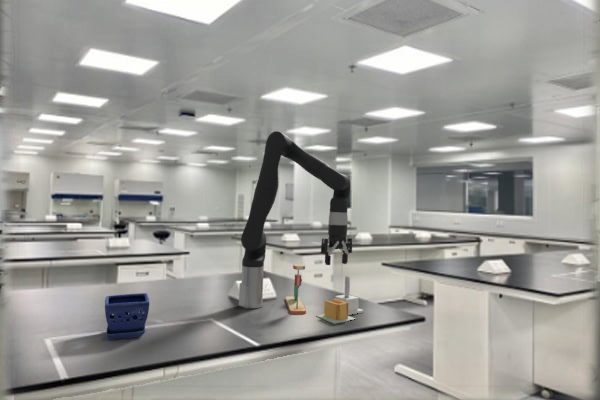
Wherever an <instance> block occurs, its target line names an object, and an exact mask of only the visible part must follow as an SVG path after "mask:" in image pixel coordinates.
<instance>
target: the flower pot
mask: <svg viewBox="0 0 600 400" xmlns="http://www.w3.org/2000/svg"><path fill="white" fill-rule="evenodd" d="M149 311H150V298H149V296H148V293H147V292H141V293H126V294H115V295H107V296H106V297H105V299H104V313H105V321H106V323H107V328H106V332H105V336H106V338H107V339H108V340H112V341H113V340H120V339H121V340H122V339H132V338H139V337H142V336H144V334H145V332H146V322H147V319H148V316H149Z"/></svg>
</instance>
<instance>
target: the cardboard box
mask: <svg viewBox="0 0 600 400" xmlns="http://www.w3.org/2000/svg"><path fill="white" fill-rule="evenodd" d="M323 311H324V312H323V314H324V316H327V317H329V318H332V319H334V320H337V321H338V320H343V319H348V316H349V315H348V303H346V302H343V301H340V300H337V299H335V298H333V299H332V301H331V300H327V299H326V300H324V309H323Z"/></svg>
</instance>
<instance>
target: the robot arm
mask: <svg viewBox="0 0 600 400" xmlns="http://www.w3.org/2000/svg"><path fill="white" fill-rule="evenodd" d="M281 157H283V158H286V159H288V160H291V161H293V163H296V164H298V166H300V167H301V168H302V169H303V170H304V171H306V172H308V174H310V175H312V176H313V177H315V178H316V179H318V180H320V181H321V182H322V183H323V184H324V185H326V186H327V187H328V188H329V189H331V190H333V195H332V197H331V199H330V202H329V213H328V214H329V215H328V227H327V229H328V230H327V234H328V238H324V237H322V239H321V246H320V253H321V254H322V255H324V264H325V265H326V266H331V258H332V256H331V255H332V253H333V252H334V251H336V250H339V251H341V253H342V254H341V255H342V256H341V263H342V264H343V265H347V264H348V259H349V254H352V253H353V238H352V237H347V235H348V218H349V217H348V206H349V205H348V201H349V197H350V192H351V179H350V178H349V176H348V175H347V174H344V173H341V172H338V171H337V170H335V169H333V168H332V167H331V166H330V165H329V164H328V163H326V162H325V161H323V160H321V159H320V158H318V157H317V156H315V155H313V154H311V153H309V152H307V151H305V149H303V148H301V147H300V146H299V145H298V144H297V143H295V142H294V141H293V140H292V139H291V138H290V137H289V136H288V135H287V134H284V133H283V132H281V131H277V130H276V131H275V130H274V131H272V132H271V133H270V134H269V135H268V137H267V139H266V141H265V146H264V152H263V159H262V163H261V167H260V171H259V174H258V179H257V182H256V185H255V189H254V194H253V197H252V202H251V204H250V205H251V206H250V210H249V215H248V219H247V221H246V224H245V226H244V228H243V232H242V233H241V237H240V243H241V246H242V247H243V248H244V254H243V258H242V261H241V281H240V283H239V288H238V289H239V290H238V293H239V294H238V306H239V307H242V308H243V309H246V310H247V309H258V308H262V307H263V297H264V295H263V293H264V271H265V269H264V267H265V265H264V263H265V259H266V249H267V237H266V234H265V232H264V227H265V223H266V221H267V217H268V216H269V214H270V213H271V211H272V210H271V209H272V207H273V206H274V204H275V201H276V198H277V194H278V191H279V190H278V189H279V165H280V161H281Z"/></svg>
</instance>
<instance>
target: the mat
mask: <svg viewBox="0 0 600 400" xmlns="http://www.w3.org/2000/svg"><path fill="white" fill-rule="evenodd" d="M316 317H318V318H319V319H321V320H324V321H327V322H329V323H331V324H333V325H335V324H340V323H345V322H350V320H352V321H355V320H354V319H356V320H357V318H355V317H353V316H351V315H348V319H343V320H338V321H337V320H334V319H332V318H329V317H327V316H324V313H323V314H322V313H321V314H317V315H316Z"/></svg>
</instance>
